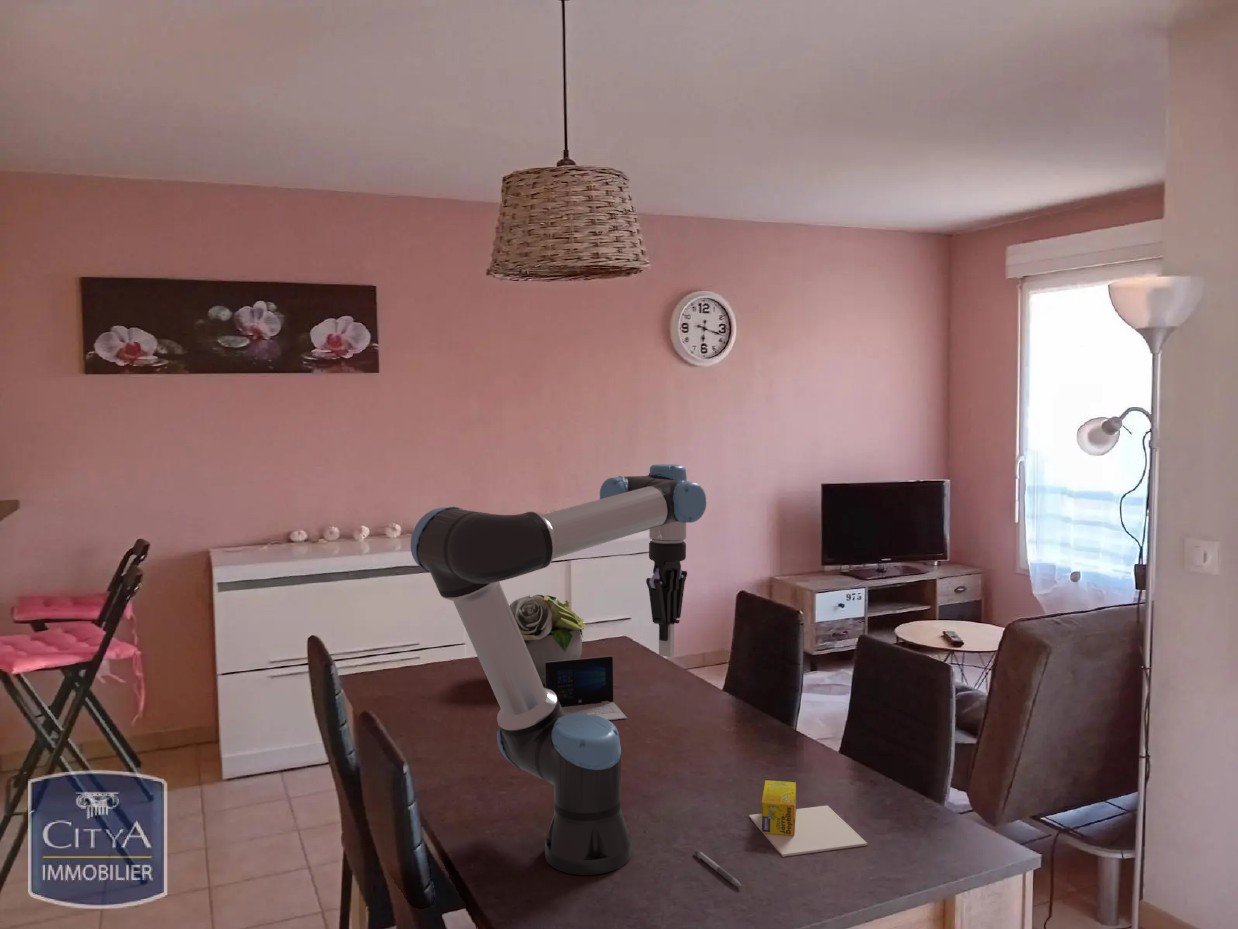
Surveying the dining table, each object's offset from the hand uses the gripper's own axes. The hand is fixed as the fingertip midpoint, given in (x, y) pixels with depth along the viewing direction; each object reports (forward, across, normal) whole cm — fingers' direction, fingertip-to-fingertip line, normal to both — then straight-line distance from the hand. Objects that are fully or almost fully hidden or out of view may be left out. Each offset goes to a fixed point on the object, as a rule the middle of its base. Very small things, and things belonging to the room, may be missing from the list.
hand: (666, 655), depth 195 cm
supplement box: (+23, 0, +25) cm, 34 cm away
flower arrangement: (+26, -45, -65) cm, 83 cm away
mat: (+27, +5, +33) cm, 42 cm away
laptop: (+27, -27, -38) cm, 54 cm away
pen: (+28, +26, +25) cm, 46 cm away
